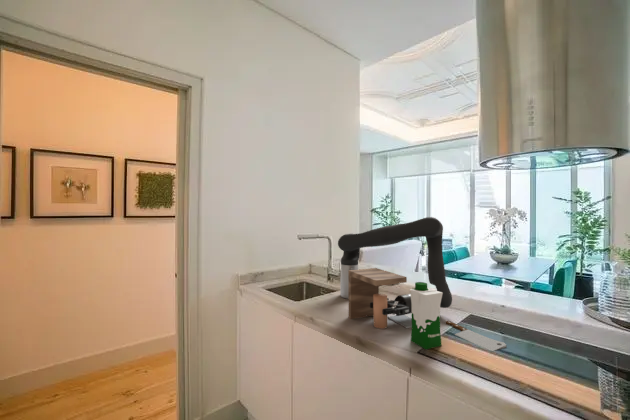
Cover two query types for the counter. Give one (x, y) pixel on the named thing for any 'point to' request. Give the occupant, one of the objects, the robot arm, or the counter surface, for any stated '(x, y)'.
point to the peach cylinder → (379, 311)
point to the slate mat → (402, 320)
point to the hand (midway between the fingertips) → (376, 308)
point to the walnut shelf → (367, 289)
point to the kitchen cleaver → (477, 338)
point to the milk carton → (425, 316)
